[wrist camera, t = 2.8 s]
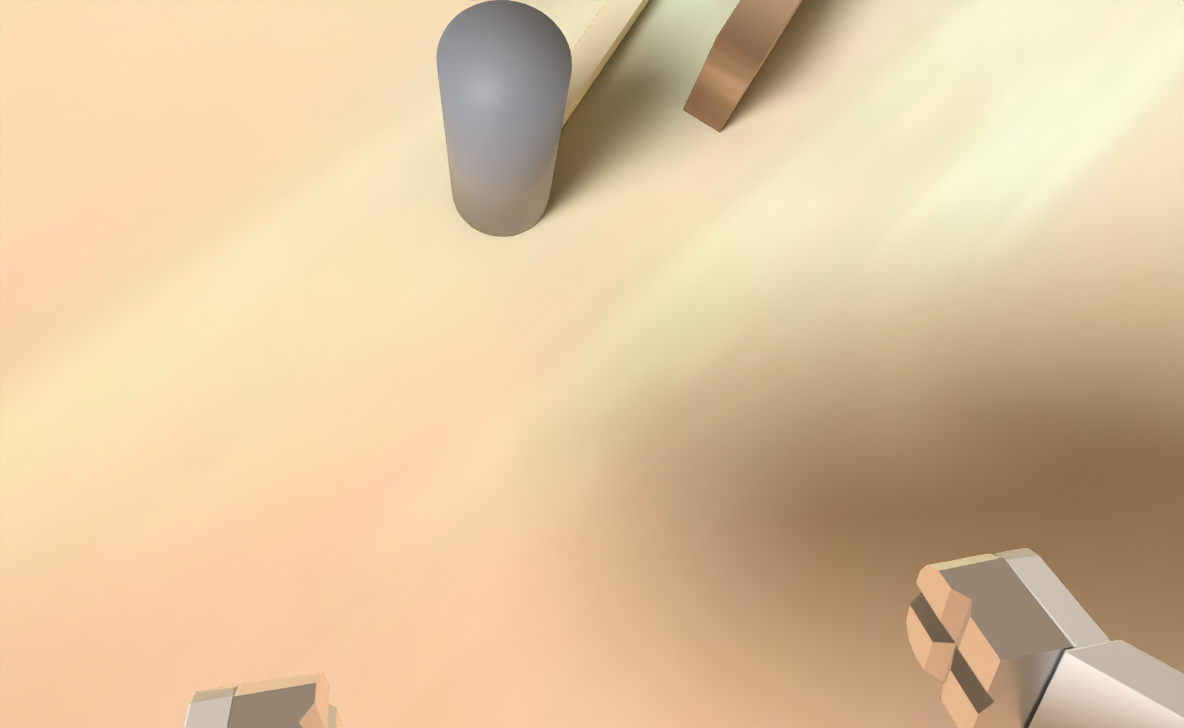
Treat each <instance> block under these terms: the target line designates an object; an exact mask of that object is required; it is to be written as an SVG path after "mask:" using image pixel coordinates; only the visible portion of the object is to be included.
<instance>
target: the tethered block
mask: <svg viewBox="0 0 1184 728" xmlns="http://www.w3.org/2000/svg"><path fill="white" fill-rule="evenodd" d="M648 1H649V0H607V1H606V2H605V3H604V5H603V6H602V8H601V9H600V11H599V12H598V13H597V15H596V16H595V18H594V19H593V21H592V22H591V23H590V25H589V26H588V28H587V29H586V31H585V32H584V34H583V35H582V36H581V38H580V39H579V41H578V42H577V44H576V45H575V46H574V48H573V49H572V51H571V52H570V49H569V46H568V43H567V41H566V39H565V37H564V35H563V33H562V32H561V30H560V29H559V27H558V26H557V25H556V24H555V23H554V22H553V21H552V20H551V19H550V18H549V17H548V16H546V15H545V14H544V13H542V12H541V11H539V10H537V9H535V8H533V7H531V6H529V5H526V4H523V3H519V2H515V1H508V0H495V1H487V2H483V3H479V4H476V5H474V6H472V7H470V8H468V9H466V10H464V11H463V12H461V13H460V14H458V15H457V16H456V17H455V18H454V19H453V20H452V21H451V22H450V23H449V25H448V26H447V27H446V29H445V31H444V32H443V34H442V36H441V39H440V42H439V45H438V50H437V70H438V78H439V86H440V94H441V103H442V111H443V119H444V128H445V136H446V144H447V152H448V161H449V169H450V177H451V186H452V194H453V200H454V203H455V206H456V208H457V210H458V212H459V214H460V215H461V217H462V218H463V219H464V220H465V221H466V222H467V223H468V224H469V225H470V226H472V227H473V228H474V229H476V230H478V231H480V232H482V233H485V234H488V235H492V236H499V237H506V236H513V235H517V234H520V233H522V232H524V231H526V230H528V229H530V228H531V227H532V226H534V225H535V224H536V223H537V222H538V221H539V220H540V218H541V217H542V216H543V214H544V212H545V210H546V208H547V205H548V201H549V197H550V191H551V185H552V180H553V174H554V168H555V163H556V157H557V152H558V146H559V140H560V135H561V129H562V127H563V126H564V125H565V123H566V122H567V120H568V119H569V117H570V116H571V114H572V113H573V111H574V110H575V108H576V107H577V105H578V104H579V103H580V101H581V100H582V98H583V97H584V95H585V94H586V92H587V91H588V89H589V88H590V86H591V85H592V83H593V82H594V81H595V79H596V78H597V76H598V75H599V73H600V72H601V70H602V69H603V67H604V66H605V64H606V63H607V62H608V60H609V59H610V57H611V56H612V54H613V53H614V51H615V50H616V48H617V47H618V45H619V44H620V42H621V41H622V40H623V38H624V37H625V35H626V34H627V32H628V31H629V29H630V28H631V26H632V25H633V23H634V22H635V20H636V19H637V18H638V16H639V15H640V13H641V12H642V10H643V9H644V7H645V6H646V4H647V3H648Z"/></svg>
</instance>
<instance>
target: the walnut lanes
mask: <svg viewBox="0 0 1184 728" xmlns="http://www.w3.org/2000/svg"><path fill="white" fill-rule="evenodd" d="M802 1H803V0H740V2H739V4H738V5H737V7H736V8H735V10H734V11H733V13H732V14H731V16H730V17H729V19H728V20H727V22H726V23H725V25H724V27H723V28H722V30H721V31H720V33H719V34H718V36H717V38H716V40H715V42H714V44H713V46H712V48H711V51H710V53H709V55H708V57H707V59H706V61H705V64H704V66H703V68H702V70H701V72H700V74H699V76H698V79H697V81H696V83H695V85H694V87H693V89H692V91H691V94H690V96H689V98H688V100H687V102H686V104H685V107H684V109H683V110H685V111H686V112H688V113H690V114H691V115H693V116H694V117H696V118H698V119H699V120H701V121H702V122H704V123H706V124H707V125H709V126H710V127H712V128H714V129H715V130H717V131H718V132H720V131H721V130H722V128H723V127H724V125H725V124H726V122H727V120H728V119H729V117H730V116H731V114H732V112H733V111H734V109H735V108H736V106H737V104H738V103H739V101H740V100H741V98H742V96H743V95H744V93H745V92H746V90H747V89H748V87H749V85H750V84H751V82H752V81H753V79H754V77H755V76H756V74H757V73H758V71H759V69H760V68H761V66H762V65H763V63H764V61H765V60H766V58H767V57H768V55H769V54H770V52H771V50H772V49H773V47H774V46H775V44H776V42H777V41H778V39H779V38H780V36H781V34H782V33H783V31H784V30H785V28H786V26H787V25H788V23H789V22H790V20H791V19H792V17H793V15H794V14H795V12H796V11H797V9H798V7H799V6H800V4H801V3H802Z"/></svg>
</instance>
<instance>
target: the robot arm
mask: <svg viewBox="0 0 1184 728" xmlns="http://www.w3.org/2000/svg"><path fill="white" fill-rule="evenodd" d="M916 584H917V586H918V587H919V589H920V590H921V592H922V593H921V594H920V595H919V596H918V597H917V598H916V599H915V600H914V601H913V602H912V603H911V604H910V605H909V610H908V614H907V618H906V625H907V632H908V639H909V642H910V645H911V647H912V650H913V653H914V655H915V657H916V659H917V660H918V662H919V664H920V666H921V667H922V669H923V671H925V672H926V673H928V674H929V675H931V676H932V677H934V678H935V679H937V680H938V681H940V682H942V690H941V698H940V699H941V701H942V703H943V704H944V706H945V708H946V709H947V711H948V713H949V714H950V716H951V718H952V719H953V721H954V723H955V724H956V726H957V728H1184V673H1182V672H1180V671H1179V670H1177V669H1175V668H1173V667H1171V666H1169V665H1167V664H1166V663H1164V662H1162V661H1160V660H1158V659H1156V658H1154V657H1153V656H1151V655H1149V654H1147V653H1145V652H1143V651H1141V650H1140V649H1138V648H1136V647H1134V646H1132V645H1130V644H1128V643H1127V642H1125V641H1123V640H1121V639H1120V640H1114V641H1111V640H1110V639H1109V638H1108V637H1107V636H1106V634H1105V633H1104V632H1103V631H1102V630H1101V629H1100V627H1099V626H1098V625H1097V624H1096V623H1095V621H1094V620H1093V619H1092V618H1091V617H1090V616H1089V614H1088V613H1087V612H1086V611H1085V610H1084V608H1083V607H1082V606H1081V605H1080V604H1079V602H1078V601H1077V600H1076V599H1075V598H1074V597H1073V595H1072V594H1071V593H1070V592H1069V591H1068V589H1067V588H1066V587H1065V586H1064V585H1063V583H1062V582H1061V581H1060V580H1059V579H1058V578H1057V576H1056V575H1055V574H1054V573H1053V572H1052V570H1051V569H1050V568H1049V567H1048V566H1047V564H1046V563H1045V562H1044V561H1043V560H1042V559H1041V557H1040V556H1039V555H1038V554H1037V553H1036V552H1034V551H1032V550H1031V549H1029V548H1019V549H1014V550H1009V551H1004V552H999V553H994V554H989V553H987V554H982V555H977V556H972V557H966V558H961V559H956V560H951V561H945V562H940V563H935V564H930V565H926V566H925V567H924V568H923V569H922V570H920V572H919V575H918V578H917V582H916ZM329 690H330V687H329V684H328V682H327V679H326V677H325V674H324V672H318V673H312V674H305V675H299V676H292V677H286V678H279V679H273V680H266V681H260V682H253V683H247V684H239V685H233V686H227V687H221V688H215V689H210V690H204V691H198V692H196V693H195V695H194V697H193V699H192V700H191V702H190V704H189V706H188V710H187V715H186V719H185V723H184V728H342V725H341V720H340V717H339V714H338V710H337V708H336V707H334V706H332V705H330V704H329Z"/></svg>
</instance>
